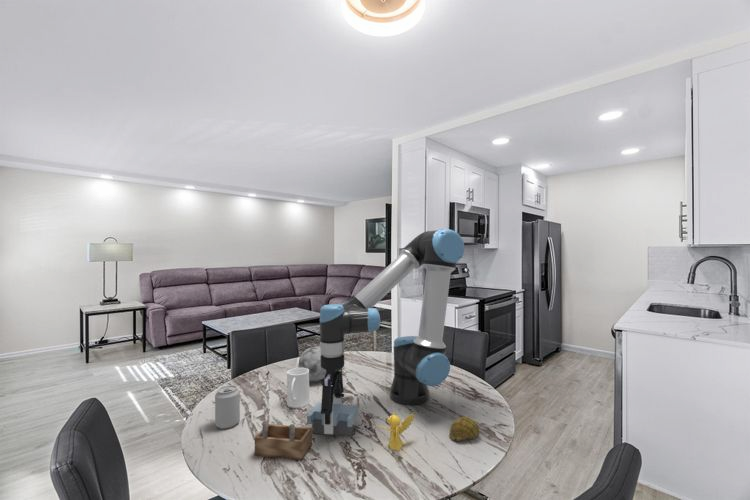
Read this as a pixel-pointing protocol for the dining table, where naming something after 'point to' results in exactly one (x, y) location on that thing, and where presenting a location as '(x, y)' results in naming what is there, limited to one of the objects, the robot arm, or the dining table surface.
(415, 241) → the robot arm
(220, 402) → the can
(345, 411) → the door
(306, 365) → the stone
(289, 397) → the mug
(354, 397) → the dining table surface
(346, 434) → the gray rectangular block
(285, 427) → the carcass
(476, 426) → the seashell
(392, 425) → the figurine
